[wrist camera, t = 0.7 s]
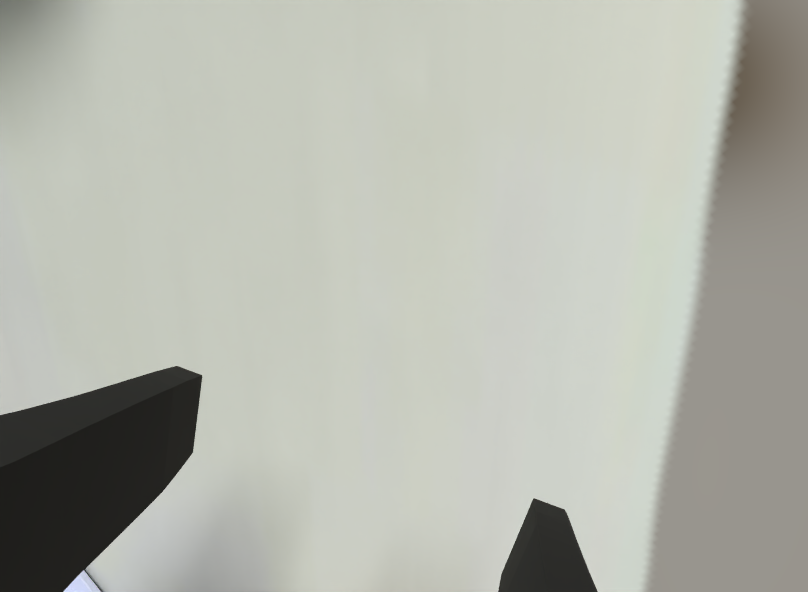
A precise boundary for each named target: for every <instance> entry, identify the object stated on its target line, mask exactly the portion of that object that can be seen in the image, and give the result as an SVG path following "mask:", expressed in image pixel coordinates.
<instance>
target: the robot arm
mask: <svg viewBox="0 0 808 592" xmlns="http://www.w3.org/2000/svg"><path fill="white" fill-rule="evenodd" d="M201 382H202V375H200V374H197V373H194V372H192V371H189V370H186V369H184V368H181V367H178V366H175V367H171V368H167V369H163V370H160V371H156V372H153V373H149V374H146V375H143V376H140V377H136V378H133V379H130V380H127V381H123V382H120V383H117V384H114V385H110V386H107V387H104V388H100V389H97V390H94V391H91V392H87V393H84V394H81V395H77V396H74V397H70V398H66V399H62V400H59V401H55V402H51V403H47V404H44V405H40V406H36V407H32V408H28V409H25V410H21V411H17V412H12V413H8V414H4V415H0V592H101V591H100V590H99V588H98V587H97V586H96V585H95V583H94V582H93V581H92V580H91V578H90V577H89V576H88V575H87V573H86V572H85V571H84V569H85V568H86V567H87V566H88V565H89V564H90V563H91V562H92V561H93V560H94V559H95V558H96V557H98V556H99V555H100V554H101V553H102V552H103V551H104V550H105V549H106V548H107V547H108V546H109V545H110V544H111V543H112V542H113V541H114V540H115V539H116V538H117V537H118V536H119V535H120V534H121V533H122V532H123V531H124V530H125V529H126V528H127V527H128V526H129V525H130V524H131V523H132V522H133V521H134V520H135V519H136V518H137V517H138V516H139V515H140V514H141V513H142V512H143V511H144V510H145V509H146V508H147V507H148V506H149V505H150V504H151V503H152V502H153V501H154V500H155V499H156V498H157V497H158V496H159V495H160V494H161V493H162V492H163V490H164V489H165V488H166V487H167V485H168V484H169V483H170V482H171V480H172V479H173V478H174V477H175V475H176V474H177V473H178V472H179V470H180V469H181V468H182V466H183V465H184V464H185V462H186V461H187V460H188V458H189V457H190V456H191V454H192V453H193V447H194V439H195V431H196V422H197V414H198V406H199V398H200V390H201ZM498 592H597V589H596V587H595V585H594V582H593V580H592V578H591V575H590V573H589V570H588V568H587V565H586V563H585V560H584V558H583V555H582V553H581V550H580V547H579V545H578V542H577V540H576V537H575V534H574V531H573V529H572V526H571V523H570V521H569V518H568V516H567V513H566V511H565V510H564V509H561V508H559V507H556V506H553V505H551V504H548V503H545V502H542V501H540V500H537V499H533V501H532V503H531V506H530V508H529V510H528V513H527V515H526V518H525V520H524V522H523V525H522V527H521V529H520V532H519V534H518V536H517V539H516V541H515V544H514V546H513V548H512V551H511V553H510V555H509V558H508V560H507V562H506V565H505V567H504V570H503V572H502V575H501V580H500V585H499V591H498Z"/></svg>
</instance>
